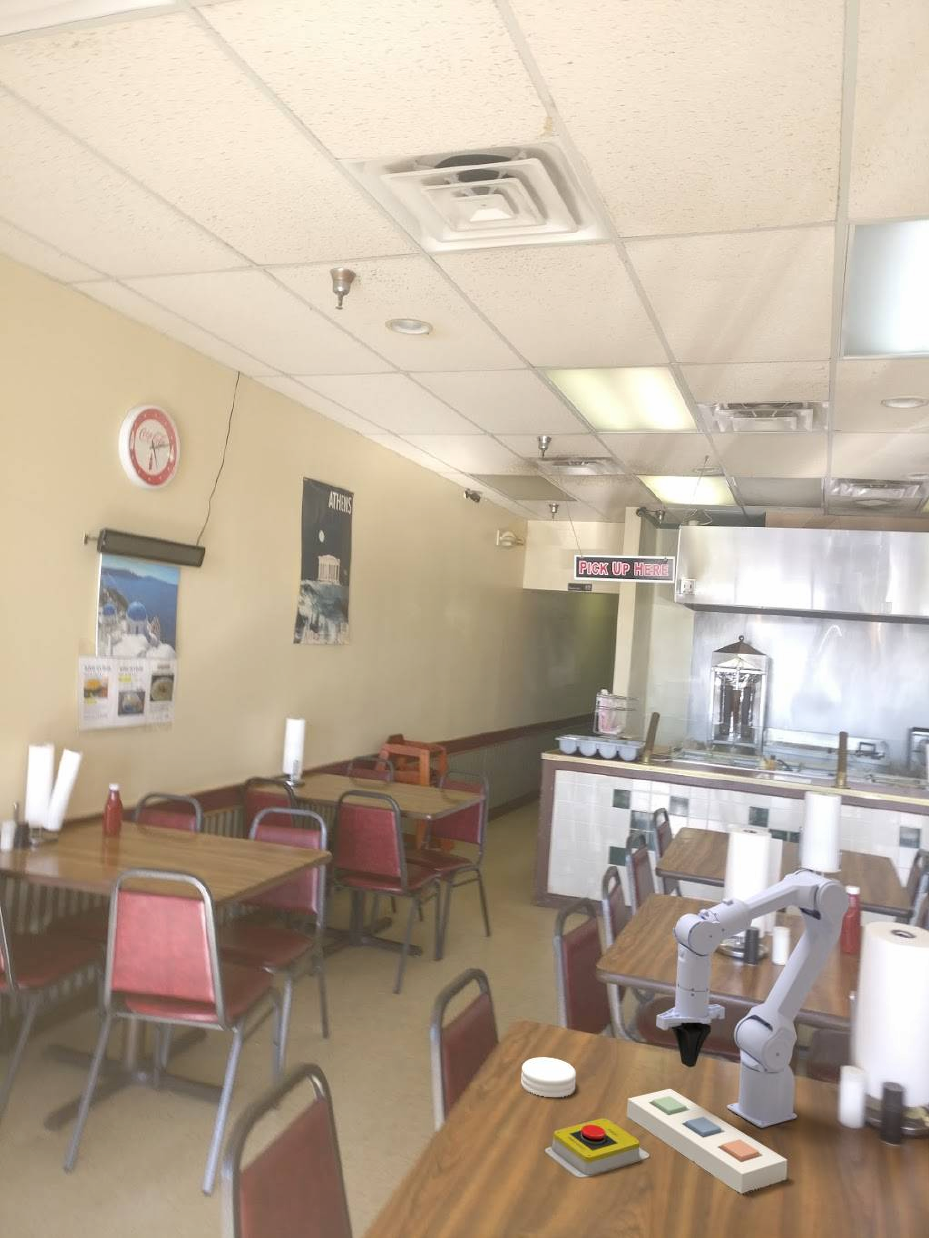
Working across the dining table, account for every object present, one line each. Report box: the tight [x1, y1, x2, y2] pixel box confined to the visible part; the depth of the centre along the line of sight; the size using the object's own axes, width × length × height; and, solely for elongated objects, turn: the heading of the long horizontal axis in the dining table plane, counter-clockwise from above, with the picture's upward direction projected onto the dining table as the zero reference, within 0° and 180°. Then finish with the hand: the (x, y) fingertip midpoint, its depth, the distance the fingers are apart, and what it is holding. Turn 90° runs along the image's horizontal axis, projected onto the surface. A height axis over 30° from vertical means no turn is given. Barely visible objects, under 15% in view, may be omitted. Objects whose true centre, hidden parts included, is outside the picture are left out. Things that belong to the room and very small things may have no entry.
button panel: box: [626, 1088, 788, 1195], centre depth 156 cm, size 10×26×3 cm, turn 31°
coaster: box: [520, 1056, 577, 1098], centre depth 174 cm, size 10×10×4 cm
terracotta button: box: [722, 1139, 759, 1162], centre depth 149 cm, size 4×4×3 cm
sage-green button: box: [652, 1096, 686, 1115], centre depth 163 cm, size 4×4×3 cm
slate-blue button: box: [685, 1117, 721, 1138], centre depth 156 cm, size 4×4×3 cm
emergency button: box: [544, 1118, 650, 1179], centre depth 151 cm, size 9×4×15 cm
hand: (688, 1064), depth 165 cm, fingers closed
